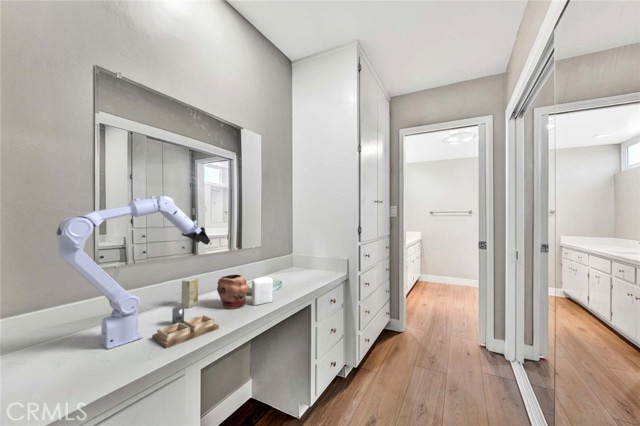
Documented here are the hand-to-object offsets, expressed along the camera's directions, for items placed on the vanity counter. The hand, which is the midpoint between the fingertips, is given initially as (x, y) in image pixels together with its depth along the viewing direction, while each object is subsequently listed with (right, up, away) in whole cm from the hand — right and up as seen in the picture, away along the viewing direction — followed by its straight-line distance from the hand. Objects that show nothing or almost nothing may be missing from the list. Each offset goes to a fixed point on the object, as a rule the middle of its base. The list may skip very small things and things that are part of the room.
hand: (204, 241), depth 110 cm
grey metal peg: (-6, -31, -10) cm, 33 cm away
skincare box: (-11, -31, +11) cm, 35 cm away
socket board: (+2, -31, -18) cm, 35 cm away
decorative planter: (+8, -31, +11) cm, 34 cm away
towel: (+16, -32, +35) cm, 51 cm away
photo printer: (+22, -31, +15) cm, 41 cm away
